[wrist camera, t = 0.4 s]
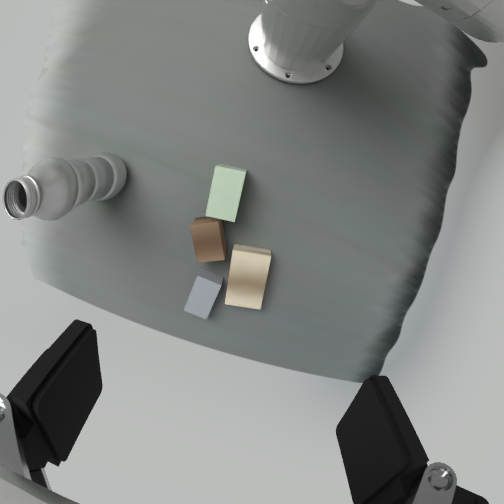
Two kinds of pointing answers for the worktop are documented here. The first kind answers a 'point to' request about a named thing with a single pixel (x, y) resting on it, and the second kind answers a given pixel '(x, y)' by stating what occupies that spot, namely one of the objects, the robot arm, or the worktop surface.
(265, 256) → the birch brick
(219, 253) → the walnut brick
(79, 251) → the worktop surface
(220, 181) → the sage brick
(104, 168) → the plastic bottle
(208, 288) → the slate brick
